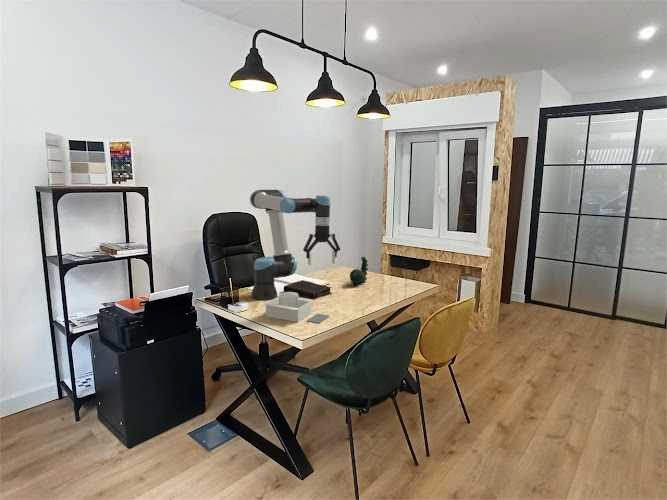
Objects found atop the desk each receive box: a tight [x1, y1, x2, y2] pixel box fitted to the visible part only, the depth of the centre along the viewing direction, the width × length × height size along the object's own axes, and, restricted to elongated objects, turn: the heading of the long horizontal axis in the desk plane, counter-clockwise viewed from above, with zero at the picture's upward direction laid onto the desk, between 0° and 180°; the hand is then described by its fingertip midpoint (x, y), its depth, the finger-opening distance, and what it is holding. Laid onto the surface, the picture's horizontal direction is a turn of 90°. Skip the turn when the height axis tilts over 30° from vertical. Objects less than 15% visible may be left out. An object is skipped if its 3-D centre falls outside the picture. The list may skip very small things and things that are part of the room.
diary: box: [283, 279, 333, 300], centre depth 247 cm, size 19×25×5 cm
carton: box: [262, 296, 314, 323], centre depth 205 cm, size 19×19×7 cm
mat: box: [306, 313, 330, 324], centre depth 201 cm, size 7×12×1 cm, turn 156°
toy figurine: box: [349, 256, 369, 287], centre depth 271 cm, size 9×19×25 cm
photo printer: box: [278, 291, 300, 308], centre depth 204 cm, size 10×4×12 cm, turn 96°
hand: (321, 264), depth 214 cm, fingers open, 13 cm apart
